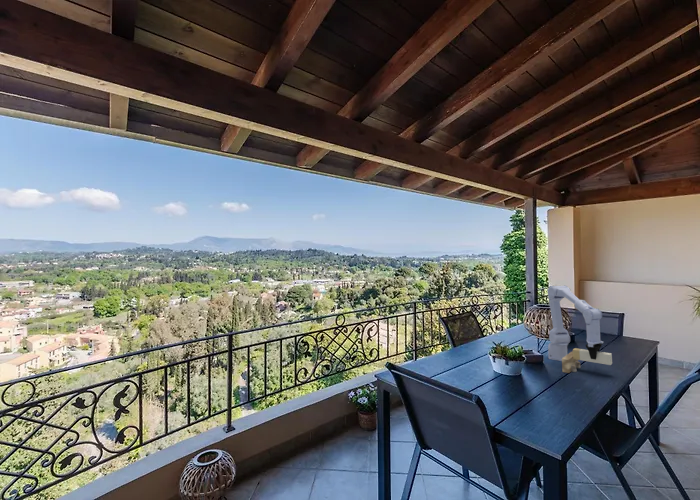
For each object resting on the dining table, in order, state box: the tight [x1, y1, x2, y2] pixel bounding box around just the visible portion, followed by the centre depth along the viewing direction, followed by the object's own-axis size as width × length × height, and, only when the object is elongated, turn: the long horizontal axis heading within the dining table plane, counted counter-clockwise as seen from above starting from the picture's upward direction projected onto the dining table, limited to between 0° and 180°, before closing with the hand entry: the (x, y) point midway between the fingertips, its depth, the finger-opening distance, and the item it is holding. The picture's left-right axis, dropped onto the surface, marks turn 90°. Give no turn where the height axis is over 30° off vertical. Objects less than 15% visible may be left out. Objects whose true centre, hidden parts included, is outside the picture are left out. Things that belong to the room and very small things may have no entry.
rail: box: [572, 347, 613, 366], centre depth 171 cm, size 16×4×5 cm, turn 42°
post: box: [561, 350, 581, 374], centre depth 177 cm, size 5×18×7 cm, turn 132°
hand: (594, 358), depth 170 cm, fingers closed on rail, 4 cm apart
